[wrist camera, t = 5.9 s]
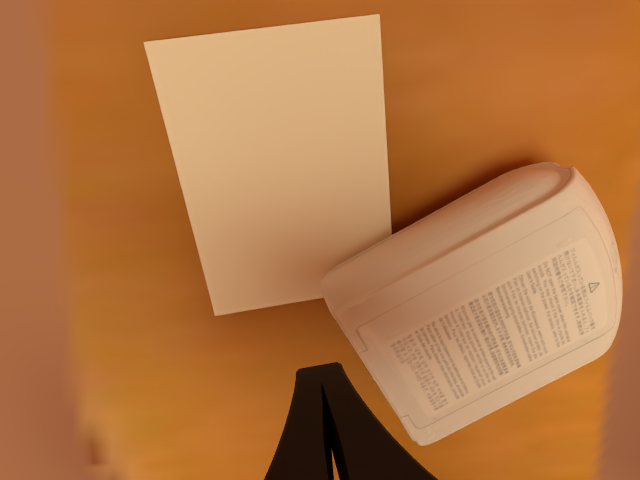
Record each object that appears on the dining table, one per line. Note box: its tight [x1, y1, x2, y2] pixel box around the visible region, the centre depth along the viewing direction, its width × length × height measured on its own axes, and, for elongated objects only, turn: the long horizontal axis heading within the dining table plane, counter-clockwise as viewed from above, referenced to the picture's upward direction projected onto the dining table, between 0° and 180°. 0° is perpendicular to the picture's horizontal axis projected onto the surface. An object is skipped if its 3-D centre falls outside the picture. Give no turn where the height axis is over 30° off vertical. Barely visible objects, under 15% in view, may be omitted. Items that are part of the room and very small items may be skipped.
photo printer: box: [320, 161, 622, 446], centre depth 18 cm, size 10×4×12 cm
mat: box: [144, 14, 392, 316], centre depth 17 cm, size 12×9×1 cm
